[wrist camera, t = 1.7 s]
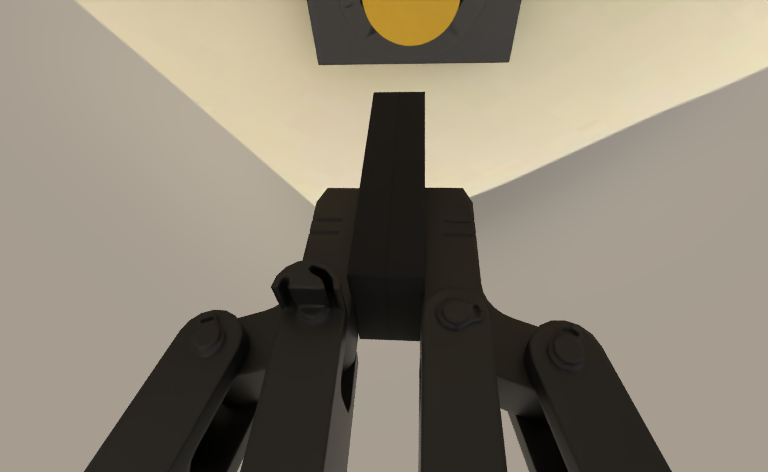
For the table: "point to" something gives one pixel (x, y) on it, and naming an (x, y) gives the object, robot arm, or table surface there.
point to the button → (410, 19)
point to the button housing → (455, 45)
